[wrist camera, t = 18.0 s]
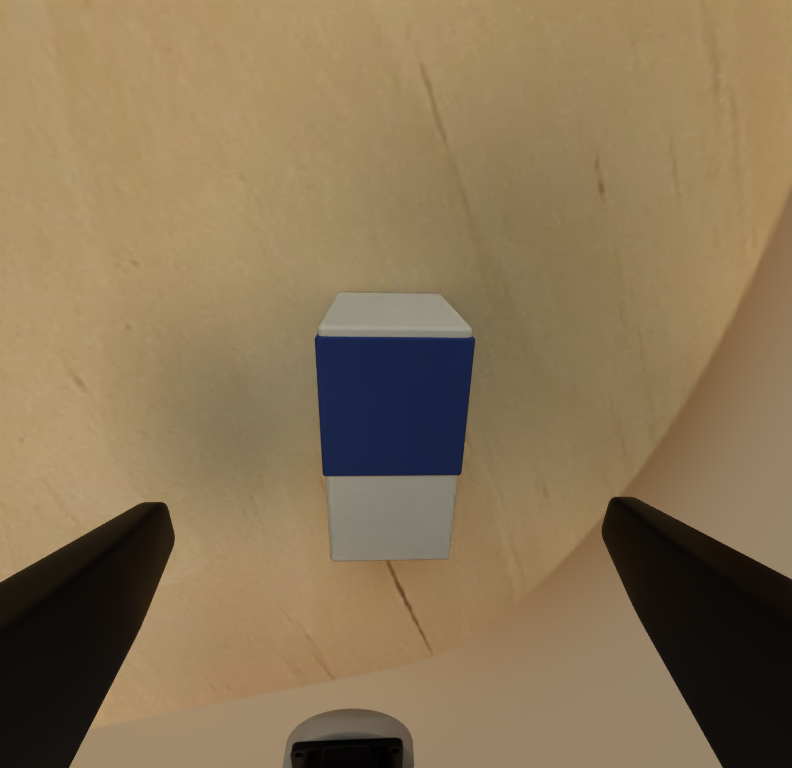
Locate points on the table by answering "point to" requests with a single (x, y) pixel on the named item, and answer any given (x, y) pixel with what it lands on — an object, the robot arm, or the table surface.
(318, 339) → the eraser
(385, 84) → the table surface
